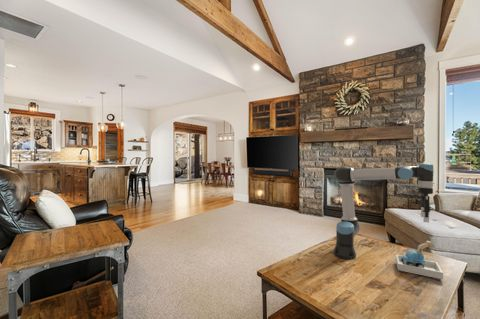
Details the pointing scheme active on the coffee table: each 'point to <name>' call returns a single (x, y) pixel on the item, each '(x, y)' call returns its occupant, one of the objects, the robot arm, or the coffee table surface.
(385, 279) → the coffee table surface
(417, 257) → the toy excavator
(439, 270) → the white tray
